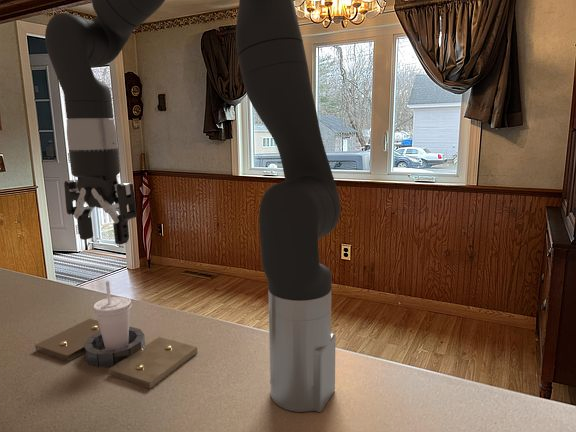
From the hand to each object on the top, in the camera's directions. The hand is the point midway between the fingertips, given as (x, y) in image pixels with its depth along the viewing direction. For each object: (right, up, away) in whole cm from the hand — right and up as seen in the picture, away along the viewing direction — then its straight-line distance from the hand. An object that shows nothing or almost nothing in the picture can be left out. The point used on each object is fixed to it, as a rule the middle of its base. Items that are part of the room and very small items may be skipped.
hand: (103, 241), depth 74 cm
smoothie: (+1, -21, +4) cm, 21 cm away
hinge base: (0, -21, +5) cm, 21 cm away
